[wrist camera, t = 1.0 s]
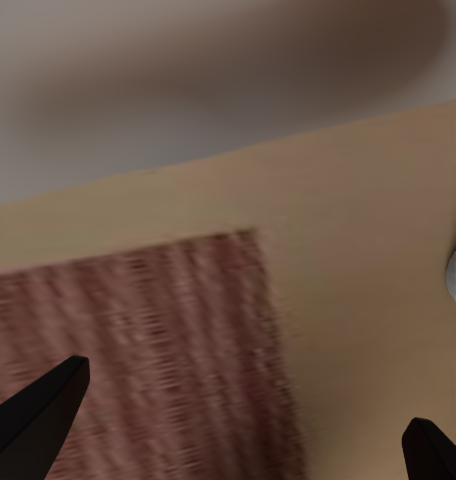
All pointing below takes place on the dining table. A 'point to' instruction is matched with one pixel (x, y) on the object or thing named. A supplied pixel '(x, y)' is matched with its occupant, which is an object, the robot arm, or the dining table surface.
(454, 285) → the coffee cup
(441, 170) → the dining table surface
